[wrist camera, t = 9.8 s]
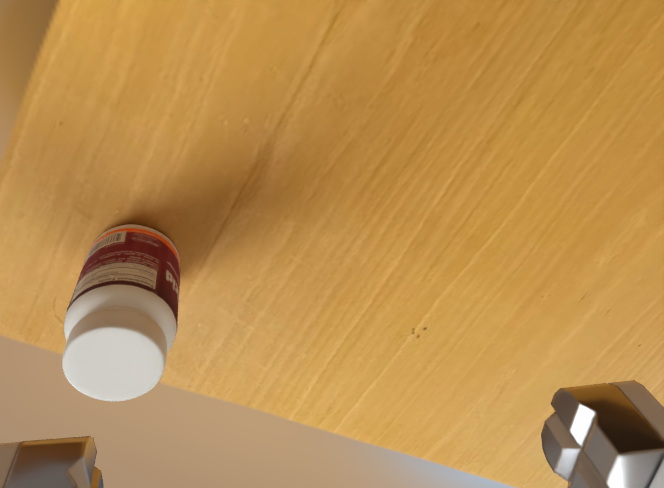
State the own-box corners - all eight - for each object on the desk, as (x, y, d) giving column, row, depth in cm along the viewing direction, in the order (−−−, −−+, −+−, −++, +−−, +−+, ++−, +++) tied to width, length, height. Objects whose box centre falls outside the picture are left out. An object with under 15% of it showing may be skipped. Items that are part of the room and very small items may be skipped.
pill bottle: (177, 300, 32) (169, 410, 25) (86, 293, 31) (51, 407, 24) (186, 226, 30) (180, 324, 23) (89, 216, 29) (51, 316, 22)
